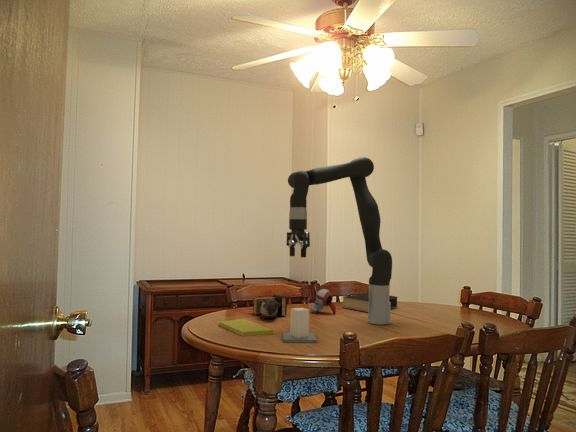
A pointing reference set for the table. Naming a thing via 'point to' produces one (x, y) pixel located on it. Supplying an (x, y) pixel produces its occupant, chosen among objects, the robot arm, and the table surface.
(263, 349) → the table surface
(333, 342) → the table surface
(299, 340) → the slate pad
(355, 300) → the book
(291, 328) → the cream block
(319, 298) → the toy
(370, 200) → the robot arm
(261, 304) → the bookend
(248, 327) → the flat olive board
